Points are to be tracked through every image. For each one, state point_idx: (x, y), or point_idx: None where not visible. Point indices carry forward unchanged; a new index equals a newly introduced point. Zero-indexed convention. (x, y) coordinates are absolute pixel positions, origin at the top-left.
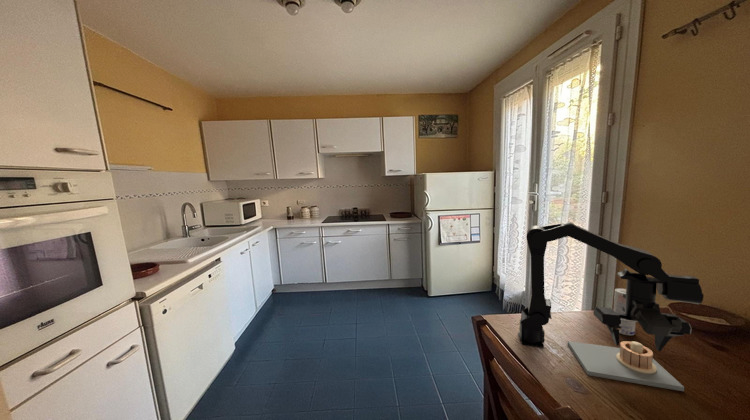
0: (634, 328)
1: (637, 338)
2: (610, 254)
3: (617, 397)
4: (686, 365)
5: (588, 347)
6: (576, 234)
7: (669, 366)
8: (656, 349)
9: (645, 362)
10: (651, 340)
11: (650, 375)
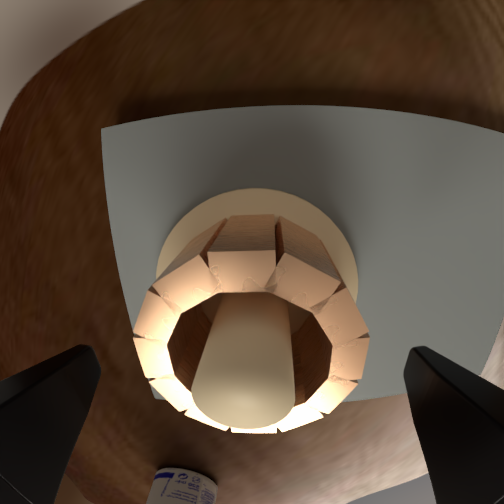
0: (154, 489)
1: (155, 457)
2: None
3: (451, 11)
4: (51, 341)
5: None
6: None
7: (96, 325)
8: (99, 365)
9: (232, 231)
10: (118, 447)
11: (228, 175)
